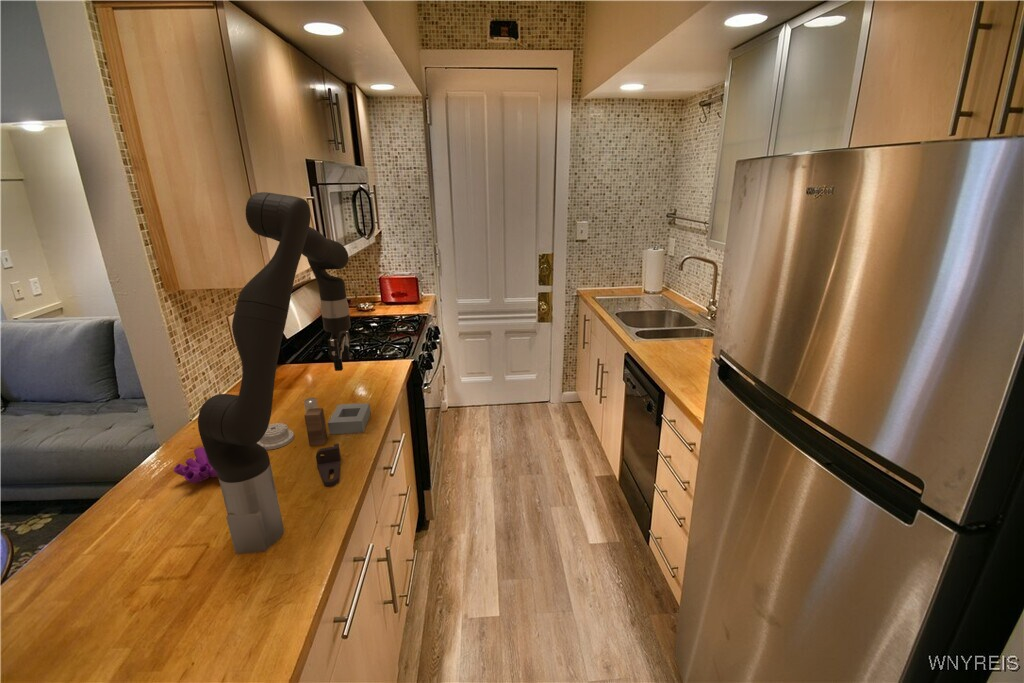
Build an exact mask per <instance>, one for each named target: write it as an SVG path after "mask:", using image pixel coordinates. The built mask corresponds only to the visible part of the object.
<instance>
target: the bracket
mask: <svg viewBox="0 0 1024 683" xmlns="http://www.w3.org/2000/svg"><path fill="white" fill-rule="evenodd" d="M315 460H316V466H317V469H318V472H319V474H320V476H319V477H320V478H321V481H322V484H323V485H324V486H323V487H326V488H331V487H334V486H337V485H338V484H339V483H340V476H341V475H340V473H341V462H342V461H341V460H342V457H341V450H340V443H333V446H329V447H322V448H320V449H318V450H317V451H316V454H315ZM331 474H333V477H332V478H330V475H331ZM336 484H337V485H336Z"/></svg>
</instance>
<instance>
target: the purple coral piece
mask: <svg viewBox="0 0 1024 683" xmlns="http://www.w3.org/2000/svg"><path fill="white" fill-rule="evenodd" d="M193 453H194V456H195V458H194V459H193V458H192V457H190V458H188V459H186V461H185V464H186V465H184V464H180V463H178V464H177V465H176V466H174V468H173V472H175V473H176V474H177V475H179V476H182V477H184V479H185V481H187V482H189V483H193V484H196V483H200V482H203V481H205V480H207V479H209V478H218V475H217V472H216V471H215V470H214V469H213V468H212V466H211V465H210V463H209V461H208V458H207V455H206V452H205V449H204V446H199V447H197V448H195V449H194V450H193Z"/></svg>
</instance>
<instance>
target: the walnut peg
mask: <svg viewBox="0 0 1024 683" xmlns="http://www.w3.org/2000/svg"><path fill="white" fill-rule="evenodd" d="M304 422H305V428H306V434H307V438H308V445H309V447H313V446H314V447H316V446H318V447H319V446H325V444H326V442H327V440H328V432H327V431H328V430H327V425H326V418H325V413H324V408H323V407H322V408H321V407H318V408H316V409H308V411H307V412H306V411H305V413H304Z"/></svg>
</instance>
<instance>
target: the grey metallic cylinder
mask: <svg viewBox="0 0 1024 683" xmlns="http://www.w3.org/2000/svg"><path fill="white" fill-rule="evenodd" d="M303 403H304V409H305V413H306V412H307V411H308V409H316V408H319V407H318V406H319V405H318V401H317V398H316V397H307V398H305V399H304V400H303Z"/></svg>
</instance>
